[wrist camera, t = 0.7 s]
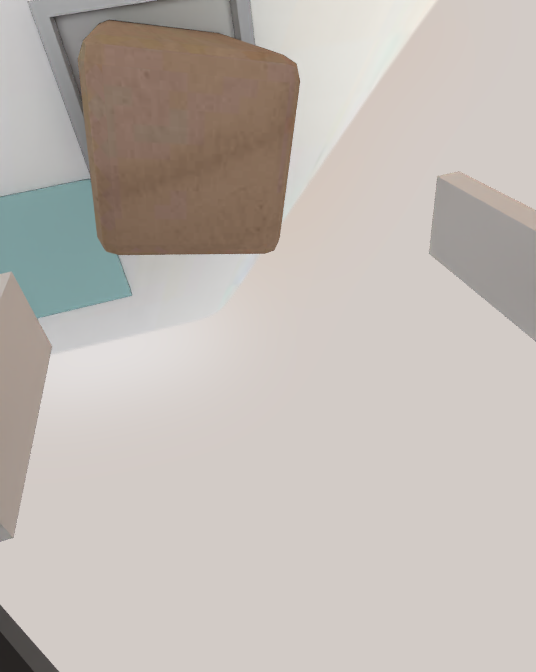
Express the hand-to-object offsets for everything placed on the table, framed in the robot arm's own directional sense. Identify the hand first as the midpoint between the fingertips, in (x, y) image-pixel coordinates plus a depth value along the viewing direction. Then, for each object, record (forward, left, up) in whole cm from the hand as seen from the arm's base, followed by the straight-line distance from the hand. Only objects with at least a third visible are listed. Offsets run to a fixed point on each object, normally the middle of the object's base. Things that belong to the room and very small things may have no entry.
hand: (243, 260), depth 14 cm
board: (-14, -11, -30) cm, 35 cm away
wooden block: (0, 0, -30) cm, 30 cm away
